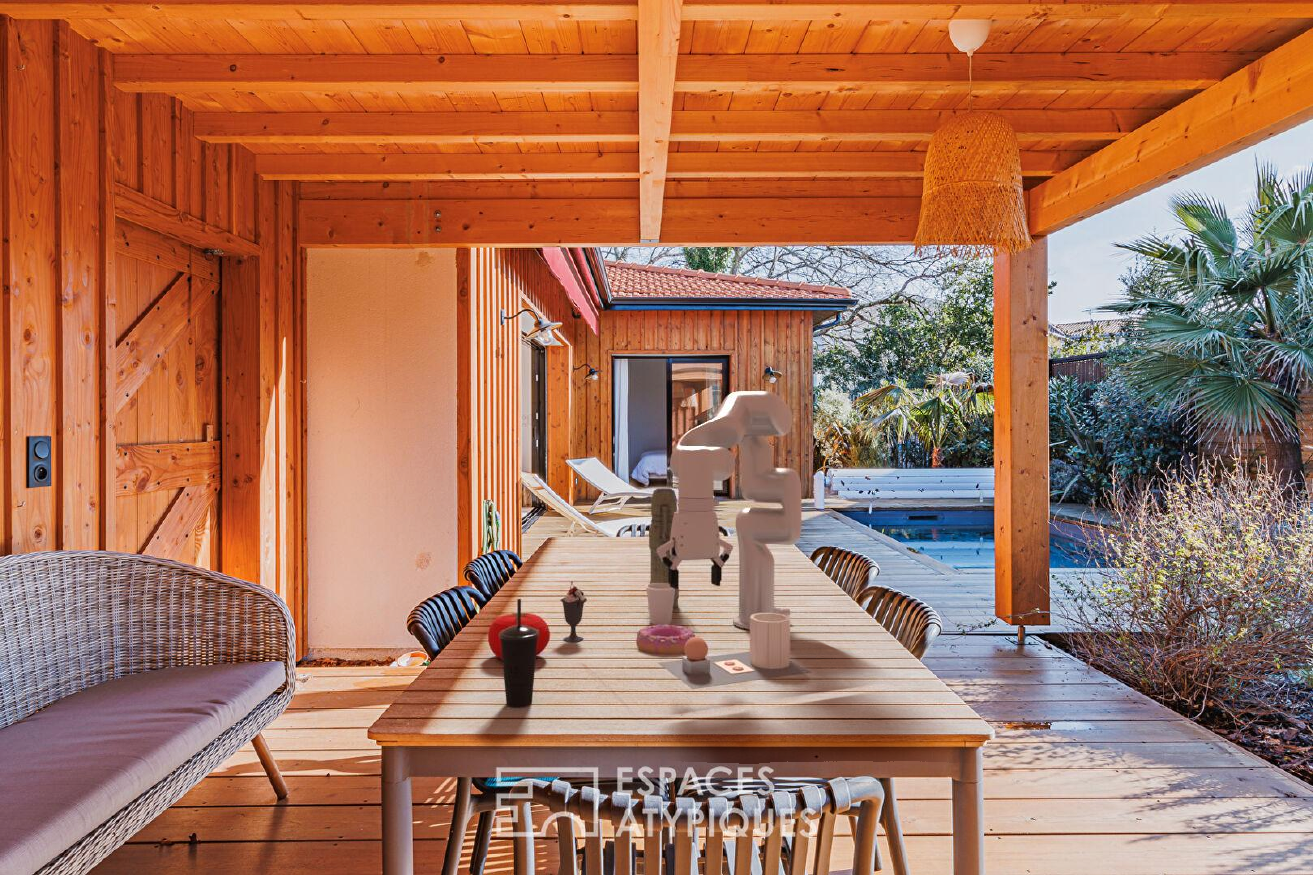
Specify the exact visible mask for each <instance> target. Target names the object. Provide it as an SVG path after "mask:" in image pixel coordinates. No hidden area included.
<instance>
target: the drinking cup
mask: <svg viewBox="0 0 1313 875" xmlns="http://www.w3.org/2000/svg"><path fill="white" fill-rule="evenodd" d="M516 603H517V604H516V606H517V609H516V610H517V625H516V626H511V627H508V628H506V629H505V630H502V631H500V632H499V637H500V639H501V650H502V659H501V660H502V670H503V679H504V680H503V682H504V692H505V700H506V702H505V703H506V706H507V707H509V708H515V709H517V708H519V709H520V708H526V707H529V706H530V705H532V704H533V692H534V683H535V682H534V680H535V673H536V672H535V671H536V659H537V656H536V650H537V639H538V636H539V631H538V630H537V629H534V628H532V627H529V626H525V625H521V613H522V598H517V602H516Z"/></svg>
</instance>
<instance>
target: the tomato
mask: <svg viewBox="0 0 1313 875" xmlns="http://www.w3.org/2000/svg"><path fill="white" fill-rule="evenodd" d="M516 625H517V613H515V612H512V613H509V614H505V615H501V616H499V617H497V618H496V619H495V620H493V621H492V623H491V624H490V627H489V629H488V634H487V641H488V645H489V648H490V650H491V652H492V653H493V654H494V655H495V657H496V658H499V659H500V660H502V650H501V639H500V637H499V632H500V631H502V630H505V629H506V628H508V627H511V626H516ZM521 625H525V626H529V627H532V628H534V629H537V630H538V631H539V636H538V639H537V650H536V657H537V656H539V655H540V654H541V653H542V652H544V650H545V649H546V648H547V646H548V644H549V642H550V638H551V631H550V628H549V625H548V624H547V622H546V621H545V619H543V618H542V617H541V616H539V615H537V614H534V613H531V612H529V613H528V612H521Z"/></svg>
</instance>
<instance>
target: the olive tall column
mask: <svg viewBox="0 0 1313 875" xmlns="http://www.w3.org/2000/svg"><path fill="white" fill-rule="evenodd" d="M677 498H678V497H677V494H676V493H675V490H674V489H673V488H664V487H661V488H656V489H655V490H653V492H652V496H651V499H650V500H651V501H650V503H651V504H650V506H651V508H650V509H651V510H650V514H651V520H650V527H649V529H648V547H649V550H650V581H649V584H652V583H669V582H668V568H667V567H666V565H665V564H664V563H663V562H662V561H661V558H660V557H659V555H658V553H657V548H659V547H660V546H662V545H664V544H665V543H667V542H669V541H670V536H671V527H672V521H673V516H674V512H678V499H677ZM666 555H667V557H668V558H669V559H671V557H672V556H671V555H670V549H669V550H668V551H666ZM679 593H680V588H678V589H675V595H674V603H673V610H675V608H676V609H677V608H679V597H680V595H679Z"/></svg>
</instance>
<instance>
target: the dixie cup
mask: <svg viewBox="0 0 1313 875" xmlns="http://www.w3.org/2000/svg"><path fill="white" fill-rule="evenodd" d="M645 589H646V598H647V603H648V612H649V614H648V615H649V621H650V624H651V625H671V623H672V618H673V610H674V609H673V603H674V595H675V589H674V588H672V587H670V584H669V583H652V584H650V583H647V585H645Z"/></svg>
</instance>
